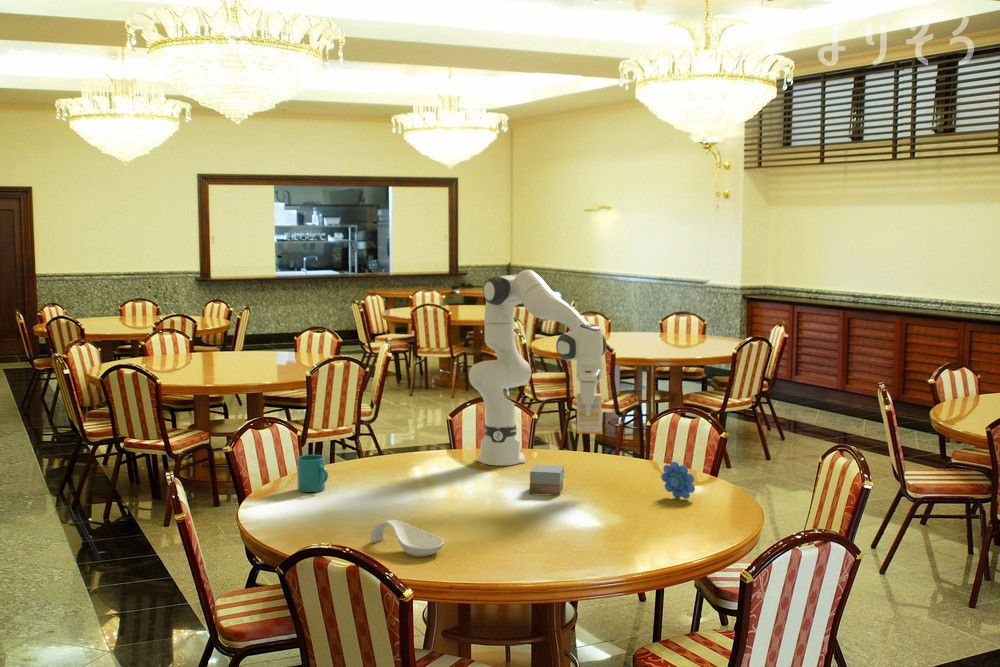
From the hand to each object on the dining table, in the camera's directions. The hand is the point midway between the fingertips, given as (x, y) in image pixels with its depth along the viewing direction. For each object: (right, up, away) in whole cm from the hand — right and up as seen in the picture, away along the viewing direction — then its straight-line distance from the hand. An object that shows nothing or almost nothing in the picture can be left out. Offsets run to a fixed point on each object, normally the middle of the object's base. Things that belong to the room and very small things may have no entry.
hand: (589, 413), depth 336 cm
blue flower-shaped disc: (+27, -27, -11) cm, 40 cm away
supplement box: (0, -7, +1) cm, 7 cm away
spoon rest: (-56, -32, -63) cm, 90 cm away
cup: (-92, -26, +1) cm, 96 cm away
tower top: (-14, -22, -1) cm, 26 cm away
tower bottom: (-14, -26, 0) cm, 30 cm away
